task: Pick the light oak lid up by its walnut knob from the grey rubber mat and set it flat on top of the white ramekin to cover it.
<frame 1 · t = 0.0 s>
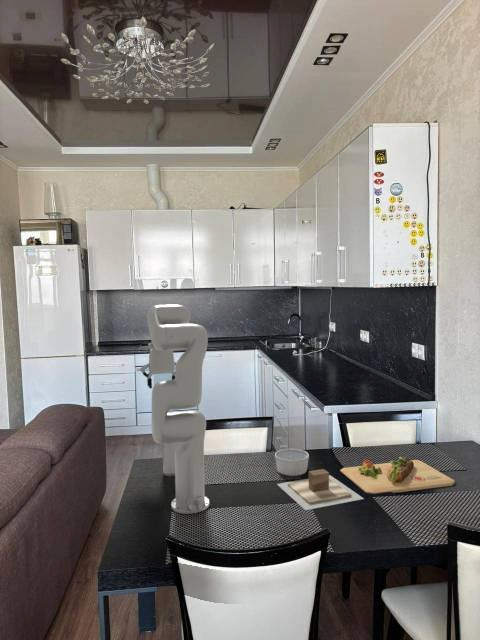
hand: (162, 386, 198), 31 cm above the table, tool pointing down, fingers open, 9 cm apart
travel mug: (171, 473, 186), on the table
rubber mat: (318, 492, 166), on the table
ramekin: (291, 472, 186), on the table
oak lid: (318, 491, 166), point 1 cm above the table, touching rubber mat
cutting board: (395, 479, 179), on the table
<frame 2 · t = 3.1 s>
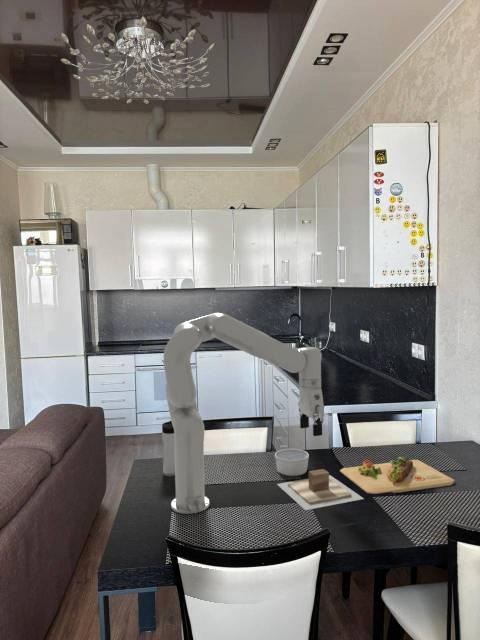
hand: (311, 431, 167), 21 cm above the table, tool pointing down, fingers open, 9 cm apart
nothing on the table moved.
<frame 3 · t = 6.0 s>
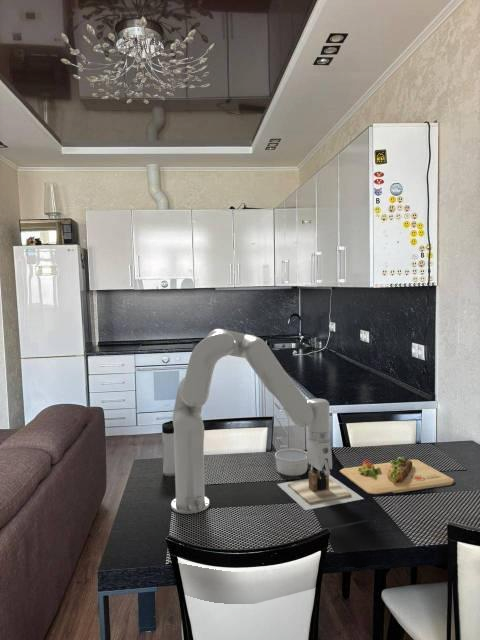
hand: (318, 486, 166), 2 cm above the table, tool pointing down, fingers closed on oak lid, 3 cm apart
oak lid: (318, 491, 166), point 1 cm above the table, touching gripper, rubber mat
everything else where it was.
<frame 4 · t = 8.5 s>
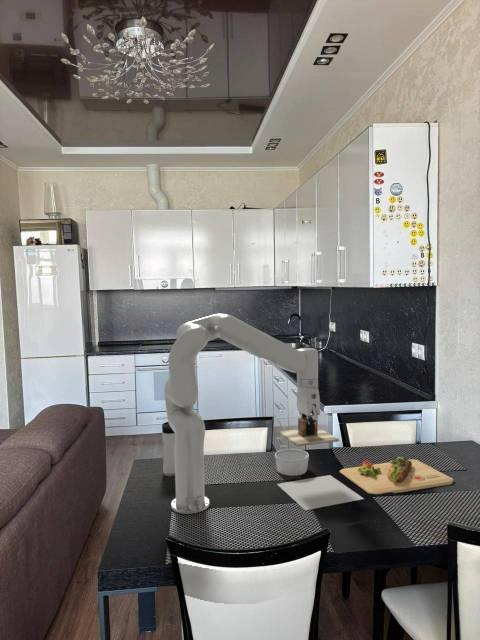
hand: (307, 432, 172), 19 cm above the table, tool pointing down, fingers closed on oak lid, 3 cm apart
oak lid: (307, 437, 173), point 17 cm above the table, touching gripper
everything else where it was.
when the fingers open (10 cm above the table, at t = 11.3 s): oak lid drops 2 cm, resting on ramekin.
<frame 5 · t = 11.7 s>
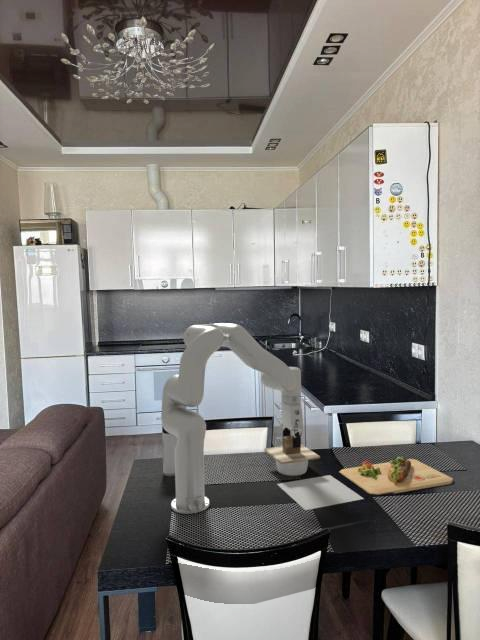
hand: (291, 443, 185), 11 cm above the table, tool pointing down, fingers open, 8 cm apart
ramekin: (291, 472, 186), on the table, touching oak lid
oak lid: (291, 454, 186), point 7 cm above the table, touching ramekin
everything else where it was.
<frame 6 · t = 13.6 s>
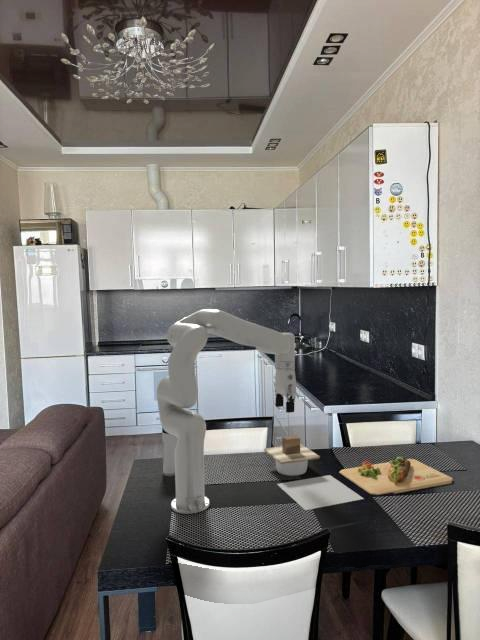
hand: (284, 409, 184), 25 cm above the table, tool pointing down, fingers open, 9 cm apart
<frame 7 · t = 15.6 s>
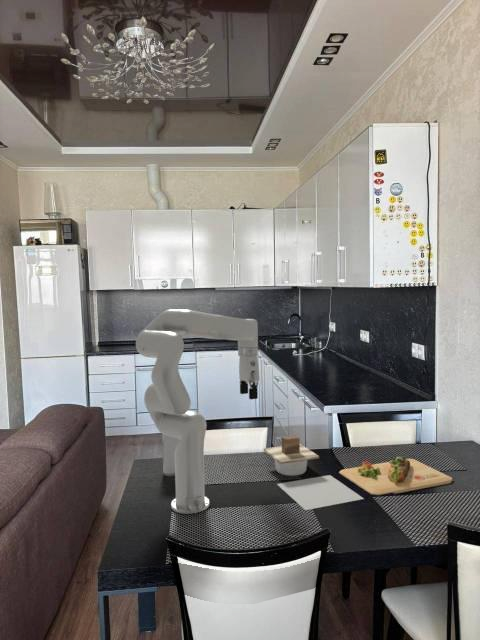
hand: (248, 396, 182), 30 cm above the table, tool pointing down, fingers open, 9 cm apart
at the end: oak lid 0.0 cm off-centre on the ramekin, point 7.1 cm above the ramekin's base; oak lid tilted 0°; the gripper is holding nothing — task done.
